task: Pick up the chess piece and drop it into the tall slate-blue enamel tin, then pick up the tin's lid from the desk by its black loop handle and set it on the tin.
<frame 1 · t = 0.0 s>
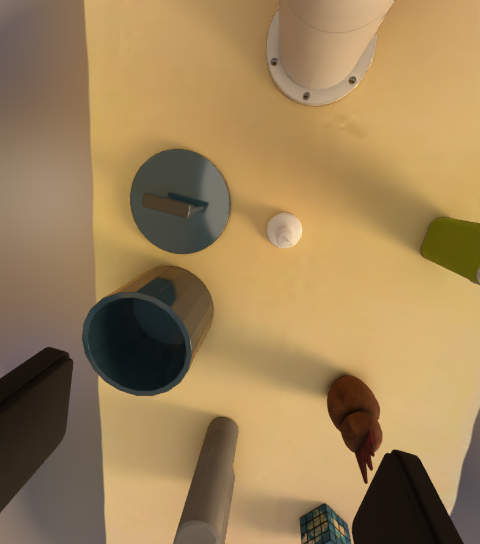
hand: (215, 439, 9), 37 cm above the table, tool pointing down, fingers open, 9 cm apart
chess piece: (284, 230, 44), on the table
vape: (438, 239, 42), on the table
puzzle: (323, 520, 56), on the table
pot: (171, 307, 49), on the table
lid: (180, 203, 44), point 1 cm above the table
flask: (220, 451, 55), on the table
wooden figurine: (346, 387, 49), on the table
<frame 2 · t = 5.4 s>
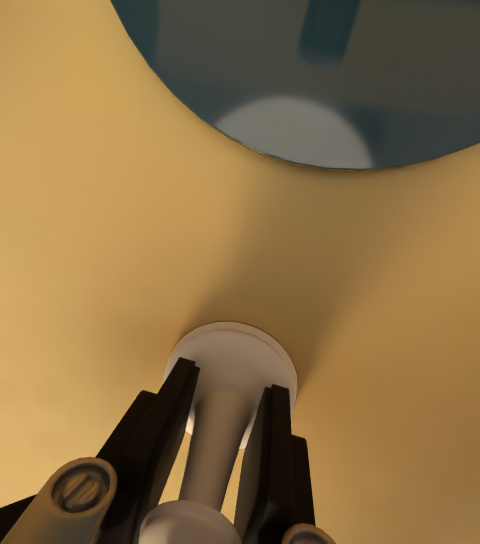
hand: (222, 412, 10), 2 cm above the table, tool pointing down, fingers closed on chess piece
chess piece: (231, 378, 12), on the table, touching gripper
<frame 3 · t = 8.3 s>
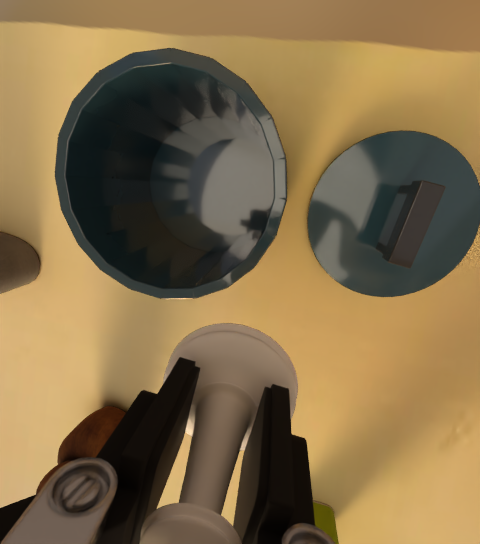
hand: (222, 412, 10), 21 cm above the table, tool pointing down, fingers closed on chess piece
chess piece: (231, 380, 12), point 20 cm above the table, touching gripper
vape: (308, 510, 38), on the table
pot: (213, 187, 30), on the table
lid: (389, 218, 28), point 1 cm above the table
wooden figurine: (119, 419, 38), on the table
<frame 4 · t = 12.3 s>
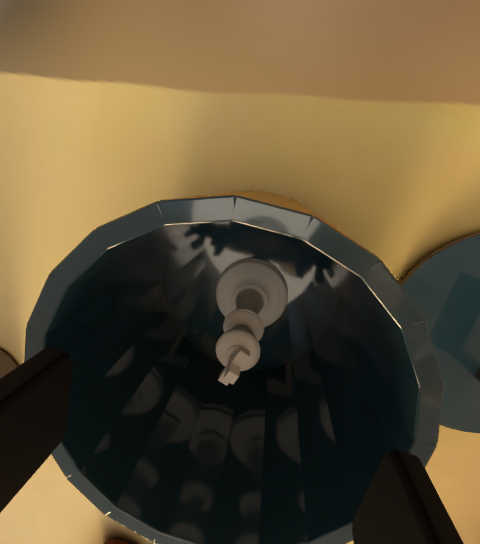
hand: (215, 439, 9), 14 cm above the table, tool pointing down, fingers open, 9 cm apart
chess piece: (252, 292, 22), resting on pot
pot: (250, 289, 22), on the table
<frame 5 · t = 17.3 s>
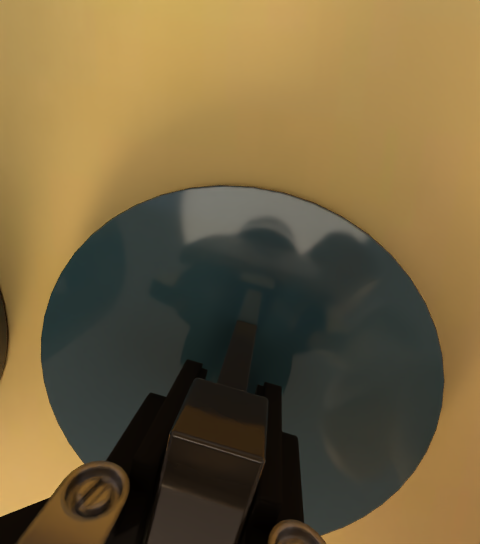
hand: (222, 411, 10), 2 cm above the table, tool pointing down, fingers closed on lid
lid: (229, 385, 12), point 1 cm above the table, touching gripper
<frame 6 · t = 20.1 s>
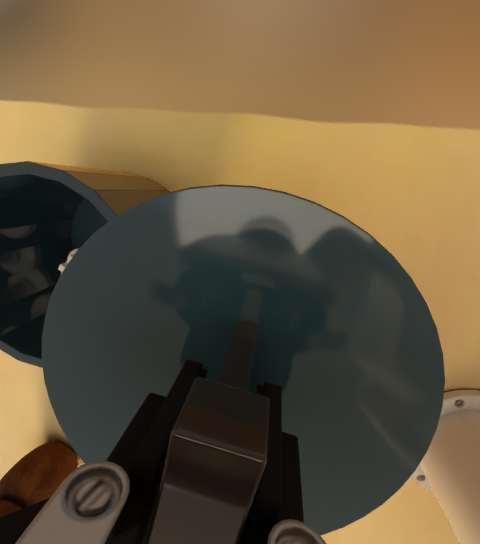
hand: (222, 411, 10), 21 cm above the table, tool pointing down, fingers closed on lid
pot: (130, 242, 32), on the table
lid: (230, 384, 12), point 20 cm above the table, touching gripper
wooden figurine: (63, 453, 40), on the table
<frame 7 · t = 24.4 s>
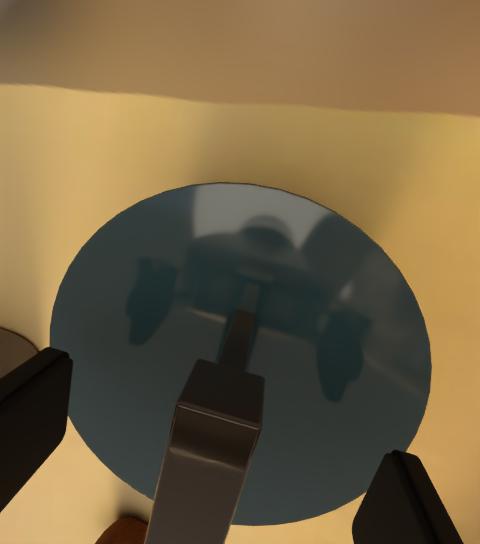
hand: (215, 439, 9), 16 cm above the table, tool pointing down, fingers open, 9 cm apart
lid: (229, 372, 12), point 12 cm above the table, touching pot
wooden figurine: (137, 528, 33), on the table
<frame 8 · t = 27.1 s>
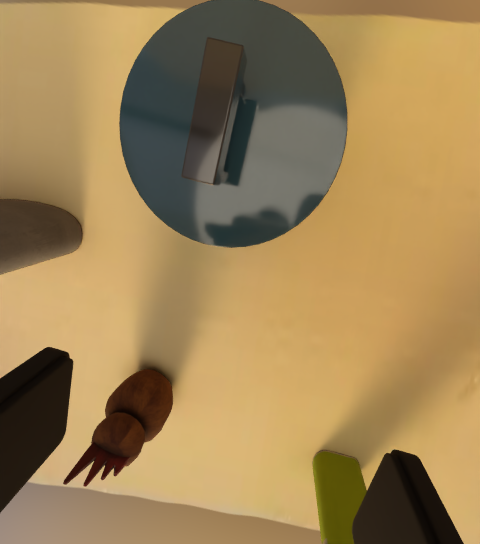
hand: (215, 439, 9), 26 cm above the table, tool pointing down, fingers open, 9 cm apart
vape: (334, 463, 40), on the table
lid: (229, 135, 20), point 12 cm above the table, touching pot
flask: (24, 224, 37), on the table
wooden figurine: (155, 382, 40), on the table
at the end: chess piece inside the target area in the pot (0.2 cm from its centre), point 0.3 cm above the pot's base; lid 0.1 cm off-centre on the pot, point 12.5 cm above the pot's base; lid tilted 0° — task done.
